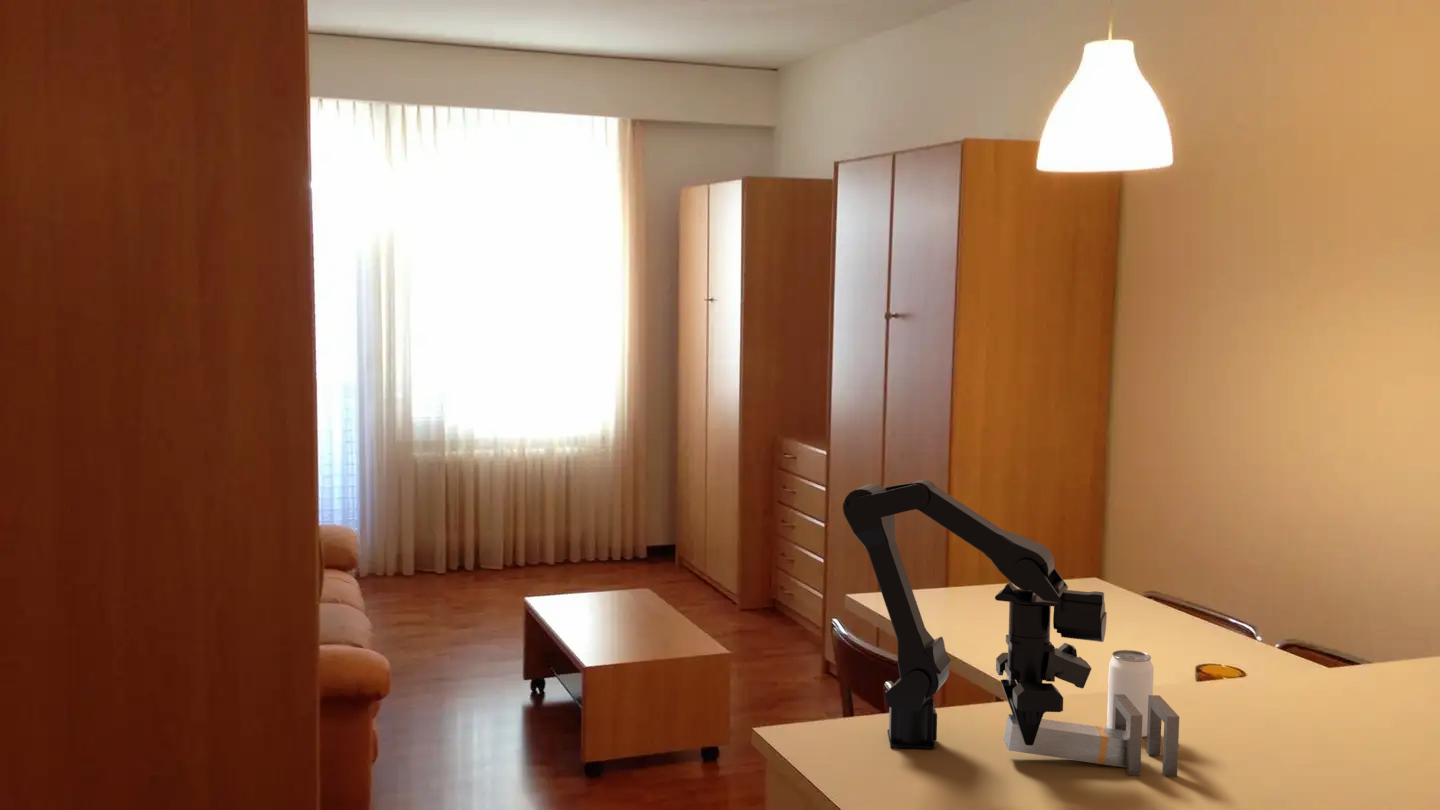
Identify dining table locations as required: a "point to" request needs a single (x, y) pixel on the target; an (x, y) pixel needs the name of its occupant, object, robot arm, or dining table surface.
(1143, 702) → the can
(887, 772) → the dining table surface
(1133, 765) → the collar
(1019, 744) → the grey banded block
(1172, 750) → the collar
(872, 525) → the robot arm
